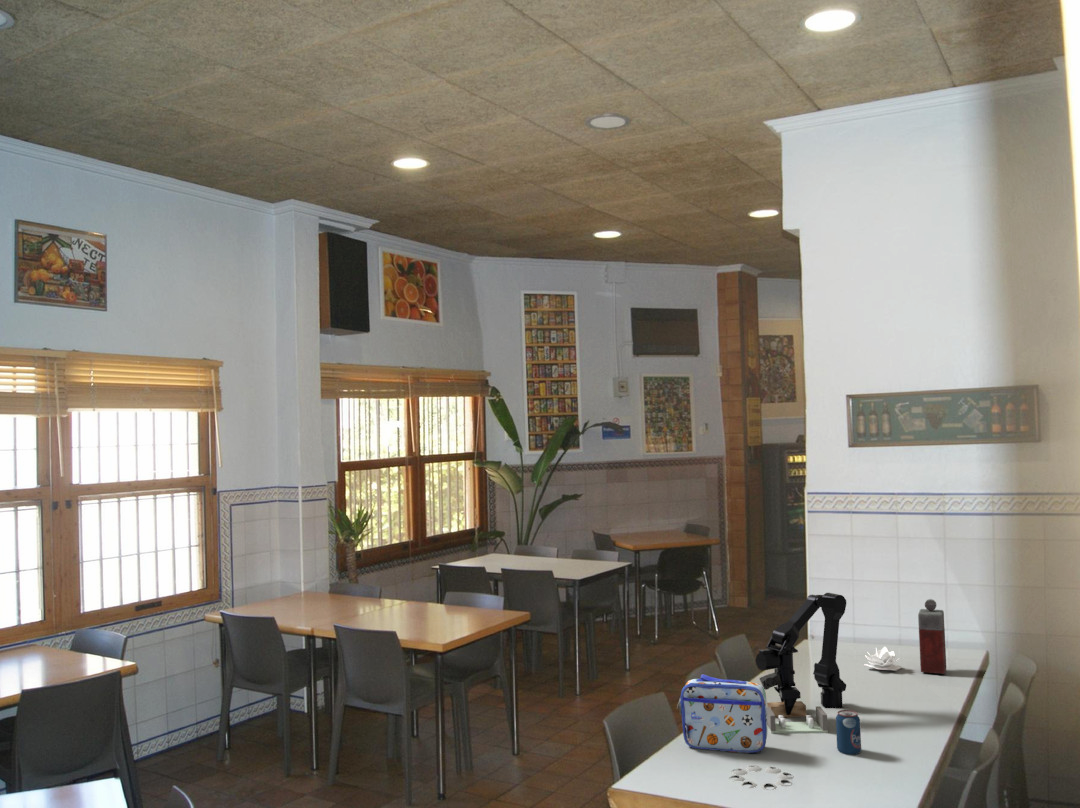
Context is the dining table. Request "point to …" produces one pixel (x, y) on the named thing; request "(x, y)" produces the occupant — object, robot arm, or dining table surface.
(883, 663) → the lotus flower
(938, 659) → the red decanter bottle
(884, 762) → the dining table surface
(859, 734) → the soda can
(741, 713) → the lunch box
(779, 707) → the shelf block
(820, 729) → the peg cradle
